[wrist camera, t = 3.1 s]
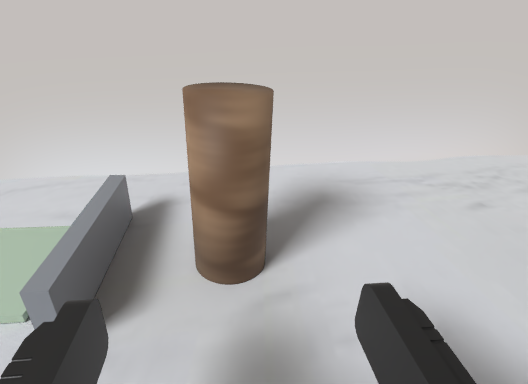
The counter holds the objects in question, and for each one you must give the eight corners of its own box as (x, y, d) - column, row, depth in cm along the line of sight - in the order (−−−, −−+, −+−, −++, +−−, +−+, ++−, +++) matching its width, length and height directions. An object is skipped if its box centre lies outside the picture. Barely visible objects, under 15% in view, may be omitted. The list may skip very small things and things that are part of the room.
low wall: (132, 216, 27) (125, 175, 26) (69, 349, 16) (48, 290, 14) (118, 217, 27) (109, 175, 25) (43, 351, 16) (19, 292, 14)
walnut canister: (260, 238, 25) (267, 83, 20) (269, 282, 21) (280, 98, 15) (197, 241, 25) (186, 81, 19) (193, 286, 20) (177, 96, 15)
